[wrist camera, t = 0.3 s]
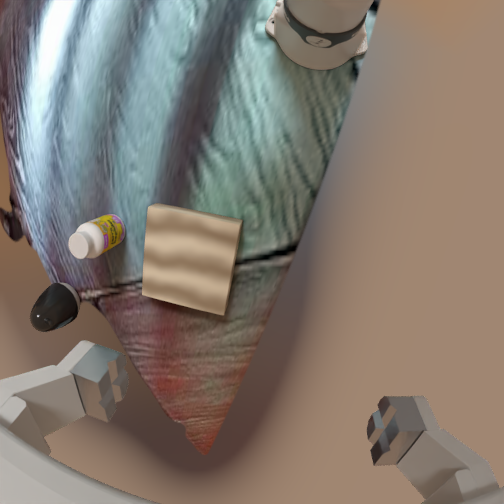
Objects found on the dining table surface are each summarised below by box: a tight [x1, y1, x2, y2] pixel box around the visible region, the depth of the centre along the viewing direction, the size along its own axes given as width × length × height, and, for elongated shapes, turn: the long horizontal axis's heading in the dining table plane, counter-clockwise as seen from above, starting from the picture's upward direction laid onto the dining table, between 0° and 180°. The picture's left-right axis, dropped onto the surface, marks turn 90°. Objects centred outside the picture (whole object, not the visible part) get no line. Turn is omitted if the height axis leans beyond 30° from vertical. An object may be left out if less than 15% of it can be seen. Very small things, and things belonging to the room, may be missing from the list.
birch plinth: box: [142, 203, 243, 316], centre depth 56 cm, size 18×17×4 cm
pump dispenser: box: [30, 283, 80, 332], centre depth 58 cm, size 10×10×15 cm
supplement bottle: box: [69, 214, 125, 259], centre depth 52 cm, size 7×7×13 cm
